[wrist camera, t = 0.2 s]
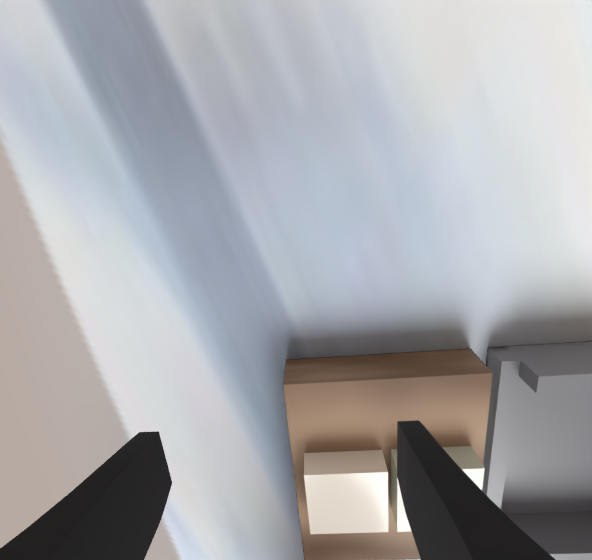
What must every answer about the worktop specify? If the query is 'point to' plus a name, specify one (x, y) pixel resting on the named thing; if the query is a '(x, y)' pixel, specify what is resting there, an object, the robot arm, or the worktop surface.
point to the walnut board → (380, 424)
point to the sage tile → (463, 459)
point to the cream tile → (346, 492)
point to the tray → (542, 443)
